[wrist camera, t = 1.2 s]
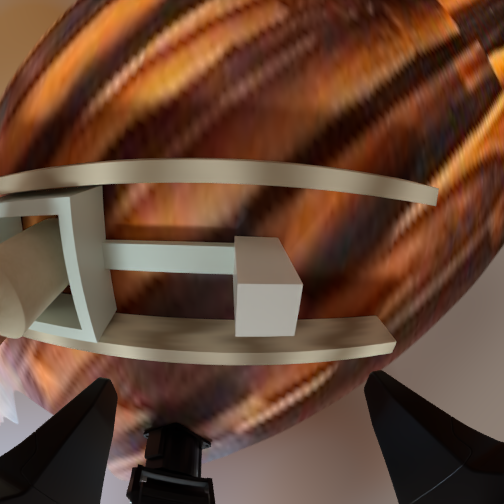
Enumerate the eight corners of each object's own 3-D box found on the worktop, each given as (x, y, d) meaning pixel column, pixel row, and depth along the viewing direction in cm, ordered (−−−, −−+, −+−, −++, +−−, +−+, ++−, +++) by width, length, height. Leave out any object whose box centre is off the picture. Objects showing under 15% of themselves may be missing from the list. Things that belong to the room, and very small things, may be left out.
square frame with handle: (282, 187, 18) (313, 209, 11) (269, 316, 21) (285, 380, 15) (11, 193, 16) (-45, 215, 9) (31, 298, 19) (-8, 339, 13)
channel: (406, 179, 18) (492, 206, 10) (372, 326, 23) (419, 393, 15) (-7, 177, 15) (-76, 201, 6) (18, 308, 20) (-28, 359, 11)
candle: (30, 257, 18) (-41, 315, 9) (45, 204, 17) (-44, 247, 7) (74, 291, 19) (13, 367, 10) (94, 239, 18) (14, 308, 9)
